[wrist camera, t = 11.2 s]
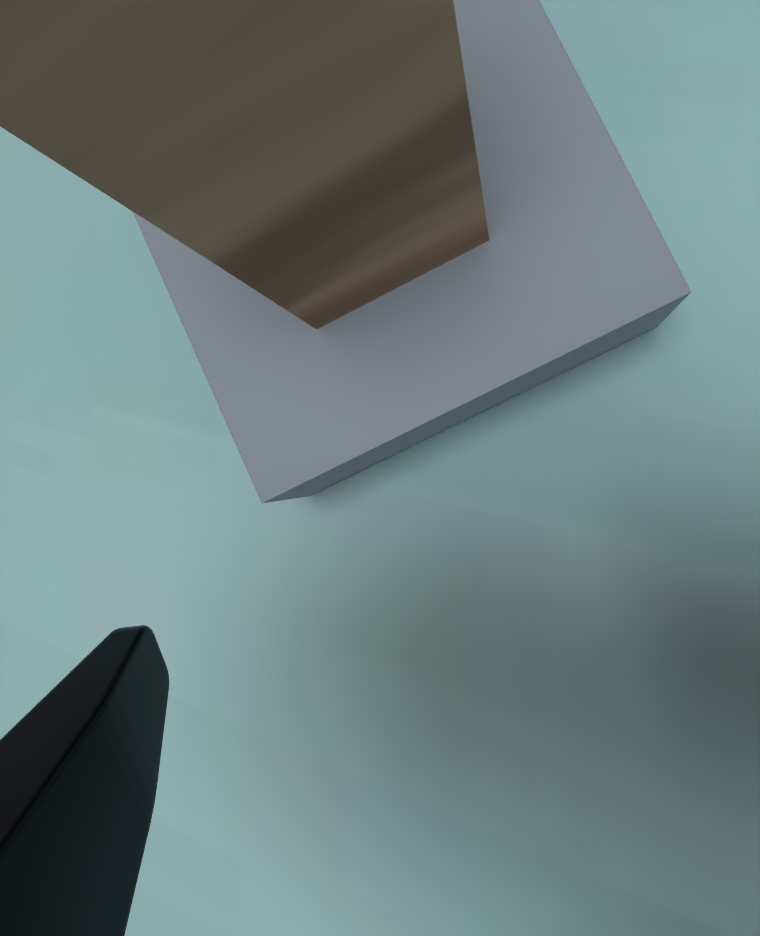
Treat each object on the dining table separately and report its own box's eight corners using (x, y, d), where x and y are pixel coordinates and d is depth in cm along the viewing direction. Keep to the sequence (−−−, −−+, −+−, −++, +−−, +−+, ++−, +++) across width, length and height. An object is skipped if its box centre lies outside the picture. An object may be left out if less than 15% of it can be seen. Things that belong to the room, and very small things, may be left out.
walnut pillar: (489, 240, 16) (367, -576, 3) (316, 329, 17) (-270, -47, 4) (409, 69, 17) (35, -1228, 4) (245, 166, 18) (-478, -606, 5)
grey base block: (656, 326, 19) (690, 291, 15) (309, 495, 21) (261, 503, 18) (482, -13, 20) (472, -128, 16) (169, 184, 22) (94, 126, 19)
